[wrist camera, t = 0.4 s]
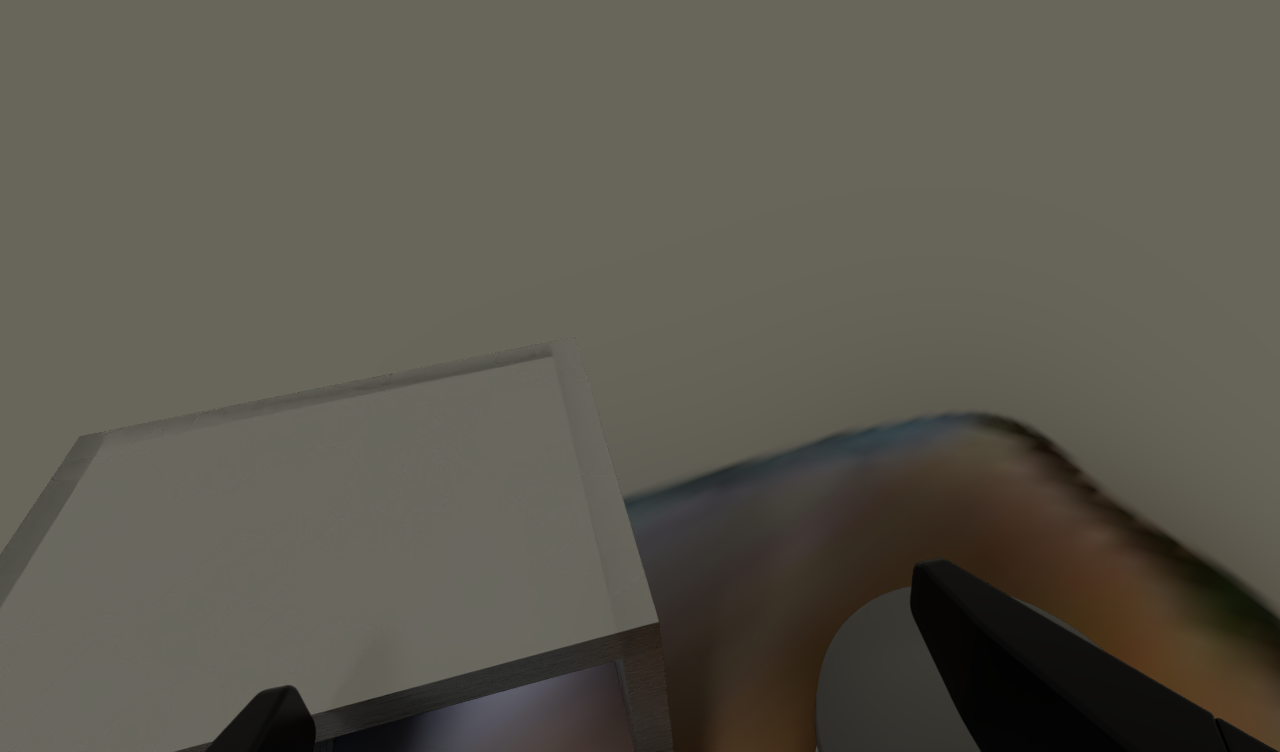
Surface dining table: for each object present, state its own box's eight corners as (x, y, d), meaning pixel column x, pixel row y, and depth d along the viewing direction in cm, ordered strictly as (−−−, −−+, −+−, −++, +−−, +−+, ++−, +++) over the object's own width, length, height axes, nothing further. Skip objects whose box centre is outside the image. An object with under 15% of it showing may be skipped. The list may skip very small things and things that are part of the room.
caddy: (690, 894, 20) (659, 621, 11) (270, 1032, 18) (-200, 852, 9) (627, 638, 27) (575, 336, 17) (318, 721, 25) (79, 436, 16)
